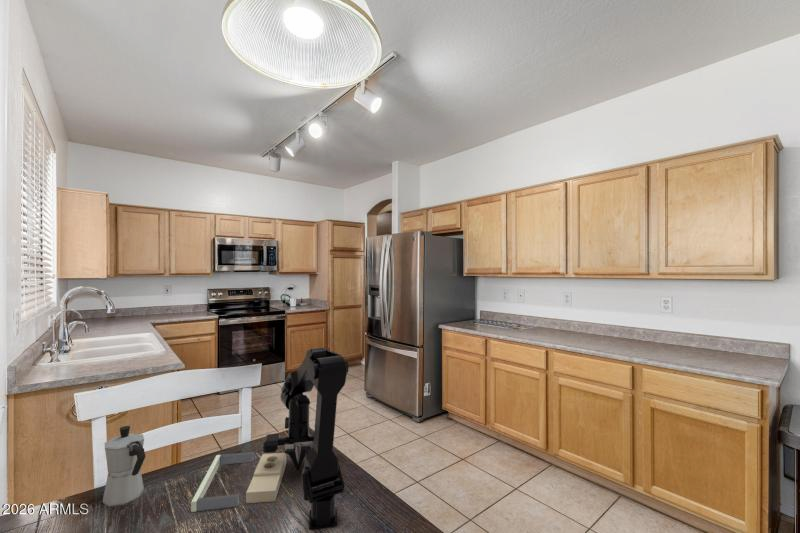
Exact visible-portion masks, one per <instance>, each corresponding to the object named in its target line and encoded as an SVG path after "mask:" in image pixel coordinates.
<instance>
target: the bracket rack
mask: <svg viewBox="0 0 800 533" xmlns="http://www.w3.org/2000/svg"><path fill="white" fill-rule="evenodd" d="M254 456H255V452H254V451H250V452H249V451H248V452H238V453H227V454H226V453H225V454H216V455H215V457H214V459H213V461H212V463H211V464H210V467H209V468H208V470H207V472H206V473H205V475H204V477H203V479H202V481H201V483H200V485H199V486H198V489H197V490H196V491H195V494H194V496H193V498H192V500H191V502H190V513H196V512H197V513H198V512H204V511H213V510H220V509H230V508H237V507H239V504H240V494H239V493H235V494H226V495H216V496H215V495H214V496H207V497H205V495H206V493H207V491H208V489H209V487H210V486H211V482H213V480H214V477H215V475H216V473H217V471H218V469H219V467H220V466H222V465H232V464H245V463H247V464H248V463H253V462H254V460H255V459H254Z"/></svg>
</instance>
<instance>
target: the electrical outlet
mask: <svg viewBox="0 0 800 533" xmlns="http://www.w3.org/2000/svg"><path fill="white" fill-rule="evenodd" d="M286 467H287V454H285V452H271V453H263V454H261V457H260V459H259V461H258V462H257V466H256V467H255V470H254V472H253V476H252V479H251V481H250V483H249V486H248V488H247V490H246V492H245V503H246V504H256V503H268V502H269V503H270V502H276V499H277V497H278V492H279V489H280V486H281V484H282V481H283V477H284V474H285V471H286Z"/></svg>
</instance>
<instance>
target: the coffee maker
mask: <svg viewBox="0 0 800 533" xmlns="http://www.w3.org/2000/svg"><path fill="white" fill-rule="evenodd" d="M130 429H131V426H130V425H125V426H121V427H120V428H119V433H120V435H118V436H112V437H110V439H109V440H107V441H106V442H104V451H105V458H106V465H107V472H108V475H107V478H106V483H105V486H104V487H105V488H104V492H103V497H102V501H101V503H102V502H103V503H102V504H103V505H105V504H106V505H105V506H107V507H109V508H111V506H112V507H118V506H123V505H124V506H125V505H127V504H128V502H129V503H130V501H131V502H133V501H134V500H137V499H139V498H140V497H141V496H142V494H143V492H145V488H144V480H143V476H142V471H141V469H142V466H143V464H144V461H145V458H146V452H145V448H144V443H145V437H144V434H143V433H130ZM126 503H127V504H126Z"/></svg>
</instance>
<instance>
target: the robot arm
mask: <svg viewBox="0 0 800 533" xmlns="http://www.w3.org/2000/svg"><path fill="white" fill-rule="evenodd" d="M348 373H349V363H348V361H347V359H345V357H343V356H342V355H341V354H340V353H338V352H335V351H334V352H333V351H331V350H329V348H325V347H317V348H309V349H307V350H306V352H305V357H304V359H303V360H302V362H301V364H300V365H299V367H298V368H297V370H293V371H291V372H289V374H288V375H287V377H286V378H285V380H284V383H283V385H282V387H281V389H280V390H281V394H280V401H281V402H282V404H283V405H284V407H285V408H286V409H287V410H288V416H286V417H285V418H284V419H285V420H284V429H285V430H287V429H288V435H287V436H288V437H281V433H269V434H267V435H266V436H265V438H264V442H263V446H262V447H263V449H262V452H263V454H269V453H276V452H277V450H278V449H279V446H284V448H285V449H284V453H285V454H286V455H287V454H288V456H289V457H290V459H291V461H292V463H293V466H294V468H295V470H296V472H299V471H300V470H301V468H302V464H303V465H304V467H303V468H302V472H301V475H300V476H301V484H302V491H303V501H307V502H308V503H309V504H311V509H310V510H309V517H308V518H309V521H308V522H309V524H308V528H309V530H315V529H323V528H329V527H336V526H338V512H337V511H338V510H337V506H336V495H339V494H343V493H344V492H345V482H344V478H343V474H342V471H341V466H340V463H339V458H338V457H337V455H336V453H335V452H334V441H335V440H334V439H335V429H336V428H335V427H336V416H337V406H338V404H337V403H338V395H339V393H340V392H341V391H342V389H343V388H344V386H345V385H346V381H347V376H348ZM313 388H315V389H316V391H317V392H316V407H315V418H314V421H315V422H314V432H313V435H311V434H310V404H311V401H310V398H309V397H308V396H307V394H304V393H309V392H311V391H312V390H313ZM297 445H300V450H299V456H298V447H297ZM312 445H313V446H312ZM303 462H304V463H303Z"/></svg>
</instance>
